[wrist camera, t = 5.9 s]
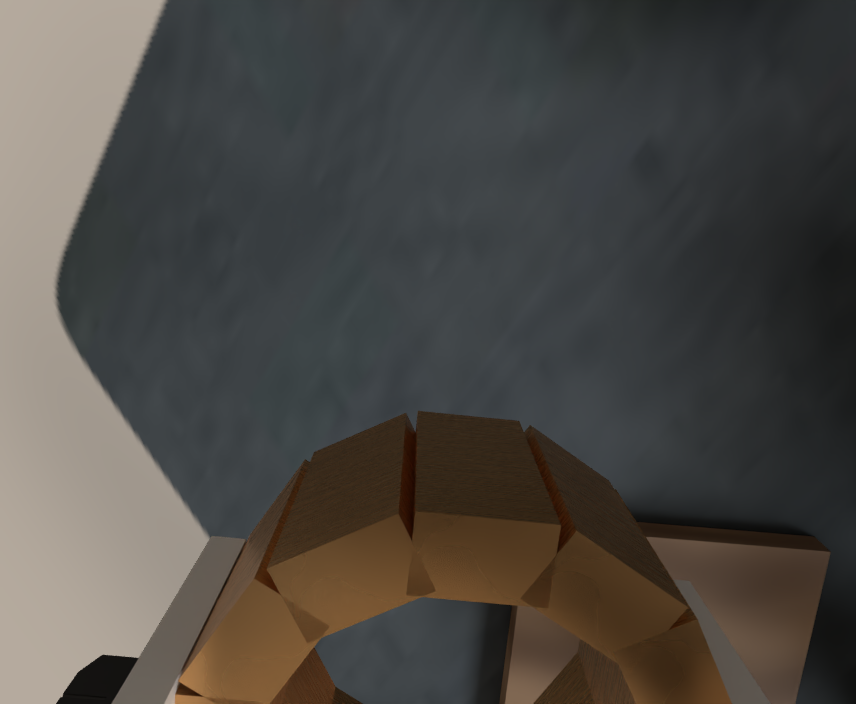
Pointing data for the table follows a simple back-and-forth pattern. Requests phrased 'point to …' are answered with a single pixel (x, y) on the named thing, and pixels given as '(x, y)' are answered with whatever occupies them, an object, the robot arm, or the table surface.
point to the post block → (723, 596)
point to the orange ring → (450, 566)
